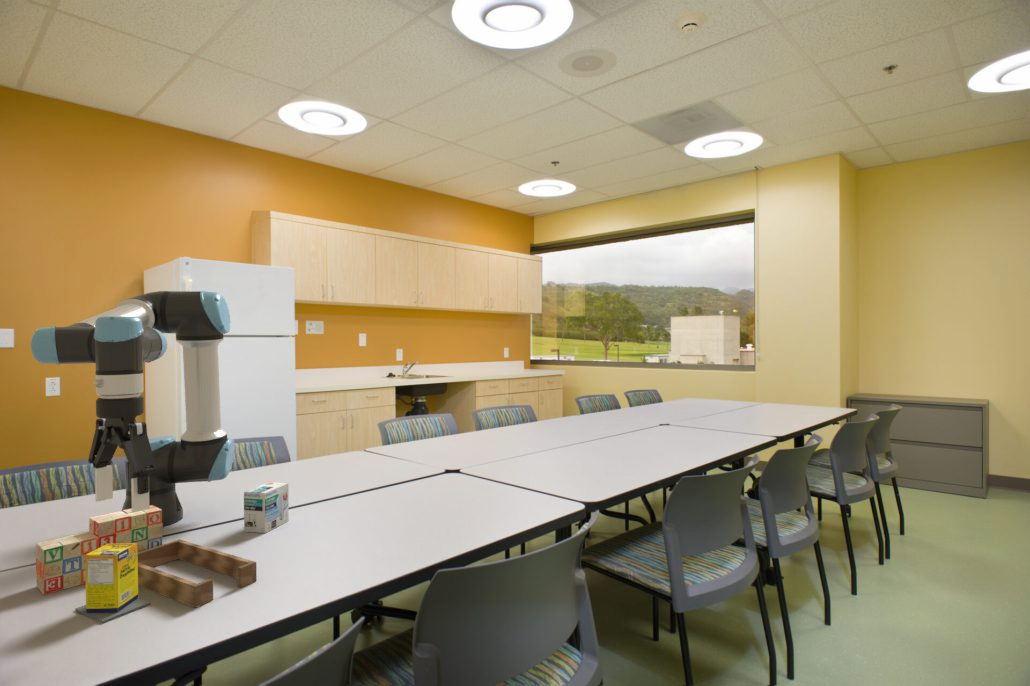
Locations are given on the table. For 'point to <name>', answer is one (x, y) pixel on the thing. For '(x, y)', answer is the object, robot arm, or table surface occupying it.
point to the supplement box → (111, 577)
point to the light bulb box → (266, 507)
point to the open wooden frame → (196, 555)
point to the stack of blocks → (94, 546)
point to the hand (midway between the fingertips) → (121, 505)
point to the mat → (108, 616)
